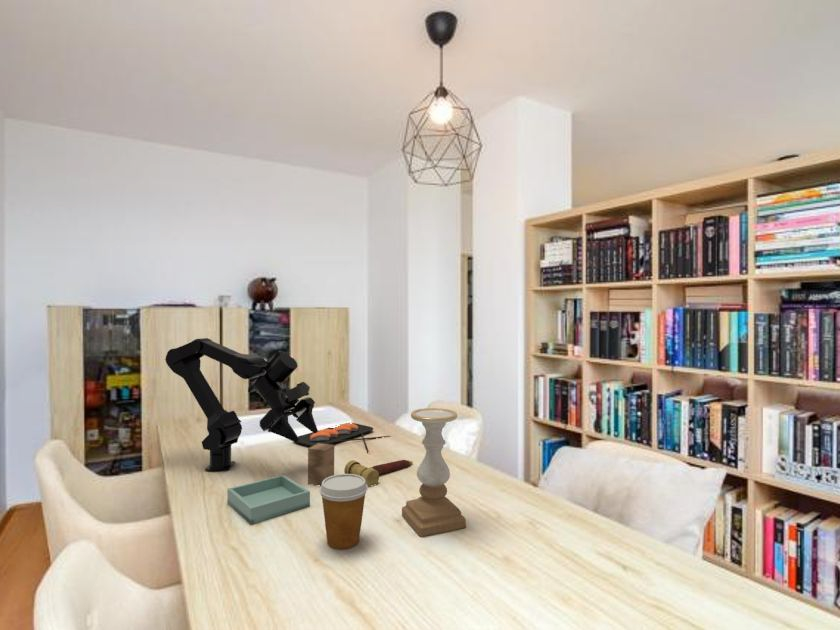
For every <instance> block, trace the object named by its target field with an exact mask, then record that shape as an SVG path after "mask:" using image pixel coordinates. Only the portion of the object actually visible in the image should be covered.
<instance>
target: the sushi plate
mask: <svg viewBox="0 0 840 630" xmlns="http://www.w3.org/2000/svg"><path fill="white" fill-rule="evenodd" d="M350 423H352V424H350ZM339 425H340V426H338V427H335V428H330V427H327V428H322V429H319V430H318V432H317V433H313V432H312V431H311V432H309V433H306V434H302V435H297V436H298V438H299V441H298V442H297V443H299V444H301V445H304V446H305V445H306V446H308V447H309V446H310V447H312V446H314V445H316V444H317V443H321V444H330V445H333V444H334V443H338V442H339V443H340V442H350V441H353V442H354V441H363V443H364V447H365V450H367V451H366V453H367V454H368V452H369V448H368V445H367V442H366V440H377V439H376V438H378V439H383V438H382V437H384V438H389V437H391V435H383V436H373V437H364V434H366V433H369V432H371V431H373V430H374V428H373V426H370V425H365V424H360V423H356V422H355V423H354V422H346V423H342V424H339ZM360 435H361V438H355V439H354V437H357V436H360ZM350 438H353V439H350ZM369 453H370V452H369Z"/></svg>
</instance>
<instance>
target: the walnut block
mask: <svg viewBox="0 0 840 630" xmlns="http://www.w3.org/2000/svg"><path fill="white" fill-rule="evenodd" d="M333 475H335V444H321V443H317V444H316V445H314V446H310V447H308V449H307V484H308V485H309V484H313V485H312V486H316V485H320V486H319V487H321V485H322V481H323V480H324V479H326V478H328V477H330V476H333Z"/></svg>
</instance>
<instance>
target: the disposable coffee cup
mask: <svg viewBox="0 0 840 630" xmlns="http://www.w3.org/2000/svg"><path fill="white" fill-rule="evenodd" d="M368 489H369V487H368V486H367V484H366V481H365V479H364V478H363V477H362V476H359V475H355V474H345V473H339V474H334V475H333V476H330V477H328V478H326V479H324V480H323V481H322V485H321V486H319V491H318V492H319V493H320V496H321V499H322V510H323V515H324V525H325V526H324V527H325V533H326V534H325V535H326V543H327V545H328V546H329V547H330V548H331V549H332V548H333V549H335V550H347V549H350V548H351V549H352V548H354V547H355V546H356V545H358V544H359V542H360V538H361V537H360V535H361V530H362V529H361V528H362V521H363V513H364V507H365V505H364V504H365V500H366V499H365V498H366V494H367V491H368Z"/></svg>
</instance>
